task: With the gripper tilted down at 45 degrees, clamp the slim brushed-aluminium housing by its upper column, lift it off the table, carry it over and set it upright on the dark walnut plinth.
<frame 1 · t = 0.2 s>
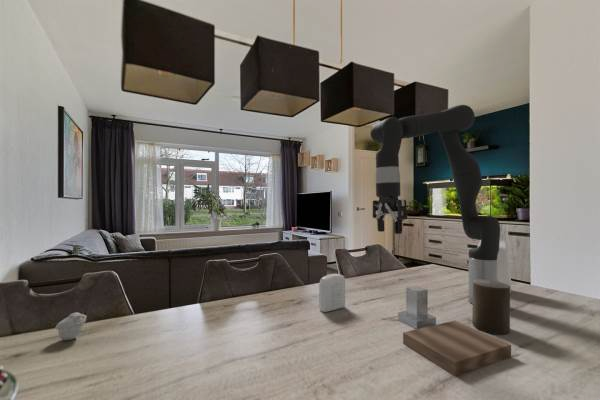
hand: (389, 232, 94), 29 cm above the table, tool pointing down, fingers open, 8 cm apart
frog figurine: (71, 339, 82), on the table
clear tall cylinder: (493, 290, 127), on the table
housing: (416, 322, 94), on the table
walnut plinth: (454, 349, 77), on the table
photo printer: (332, 309, 105), on the table
pillar candle: (490, 328, 90), on the table
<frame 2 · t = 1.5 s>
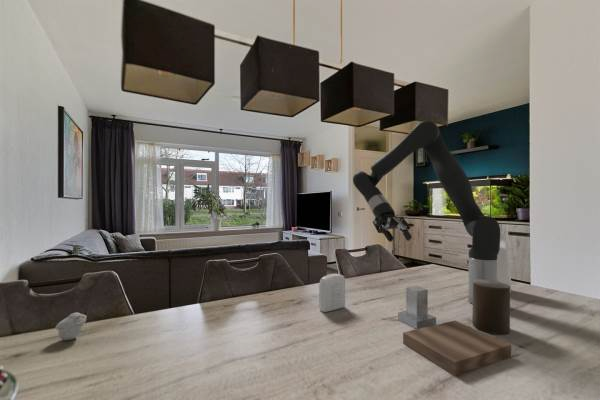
hand: (401, 239, 108), 24 cm above the table, tool tilted 45°, fingers open, 8 cm apart
nothing on the table moved.
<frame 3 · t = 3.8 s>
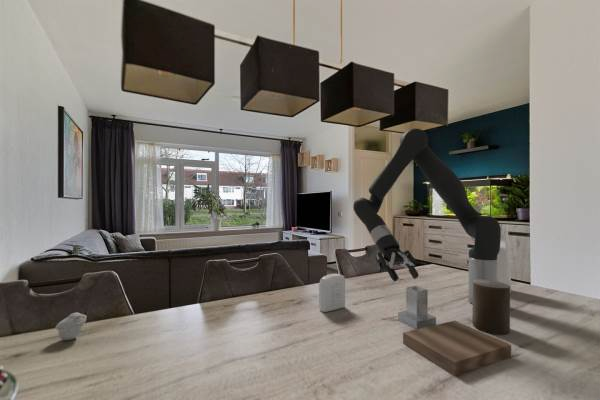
hand: (406, 278, 98), 13 cm above the table, tool tilted 45°, fingers open, 8 cm apart
nothing on the table moved.
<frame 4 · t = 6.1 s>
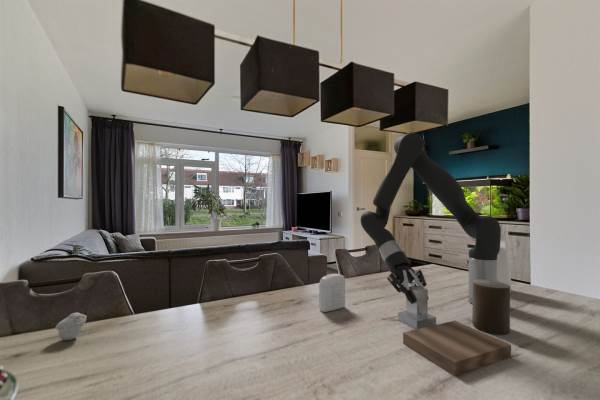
hand: (420, 301, 92), 7 cm above the table, tool tilted 45°, fingers closed on housing, 4 cm apart
housing: (416, 322, 94), on the table, touching gripper
everything else where it was.
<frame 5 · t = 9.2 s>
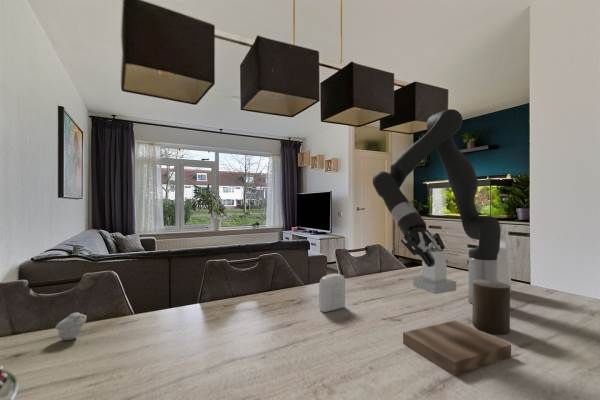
hand: (438, 264, 83), 21 cm above the table, tool tilted 45°, fingers closed on housing, 4 cm apart
housing: (434, 288, 84), point 14 cm above the table, touching gripper
everything else where it was.
when the fingers open (12 cm above the table, at t = 12.5 s): housing drops 1 cm, resting on walnut plinth.
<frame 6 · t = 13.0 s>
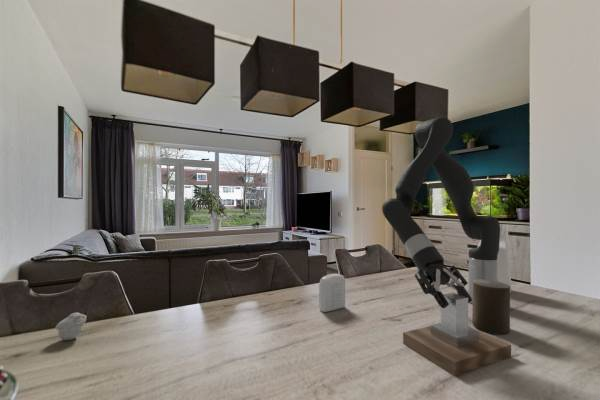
hand: (457, 304, 76), 12 cm above the table, tool tilted 45°, fingers open, 8 cm apart
housing: (454, 338, 77), point 3 cm above the table, touching walnut plinth
everything else where it was.
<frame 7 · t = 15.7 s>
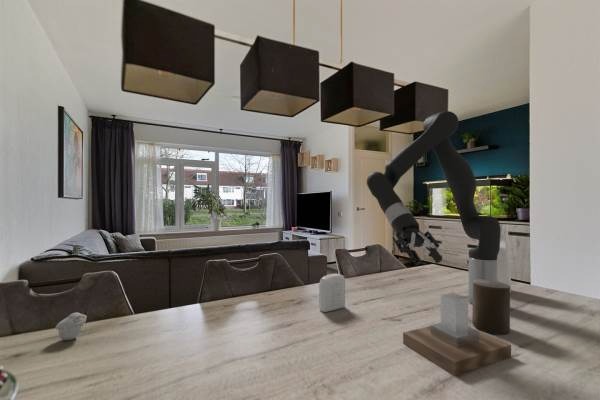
hand: (429, 262, 85), 21 cm above the table, tool tilted 45°, fingers open, 8 cm apart
nothing on the table moved.
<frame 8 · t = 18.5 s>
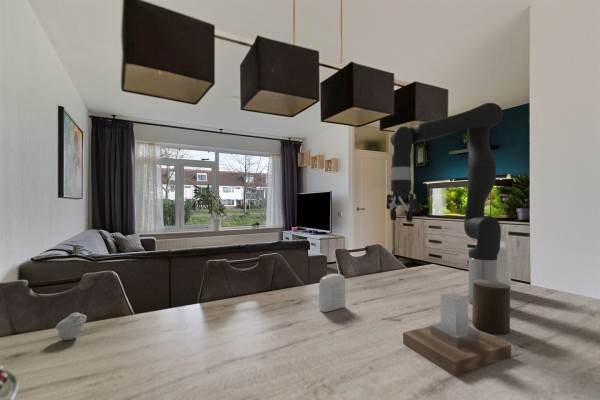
hand: (401, 220, 114), 31 cm above the table, tool pointing down, fingers open, 8 cm apart
nothing on the table moved.
at the end: housing inside the target area on the walnut plinth (0.1 cm from its centre), point 3.0 cm above the walnut plinth's base; housing tilted 0°; the gripper is holding nothing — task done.
